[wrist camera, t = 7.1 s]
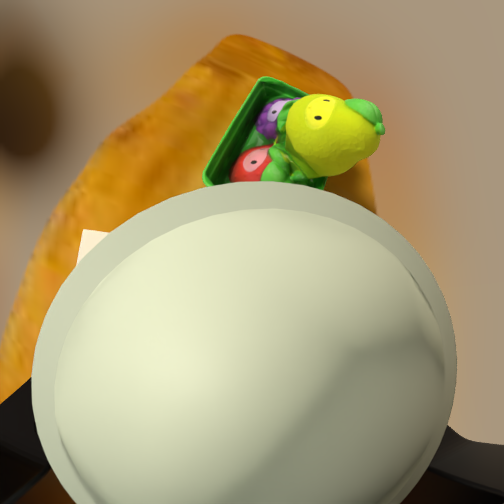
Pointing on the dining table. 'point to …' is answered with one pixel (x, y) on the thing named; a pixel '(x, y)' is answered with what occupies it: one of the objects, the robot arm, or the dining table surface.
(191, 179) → the dining table surface
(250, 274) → the grey cylinder
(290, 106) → the fruit basket
